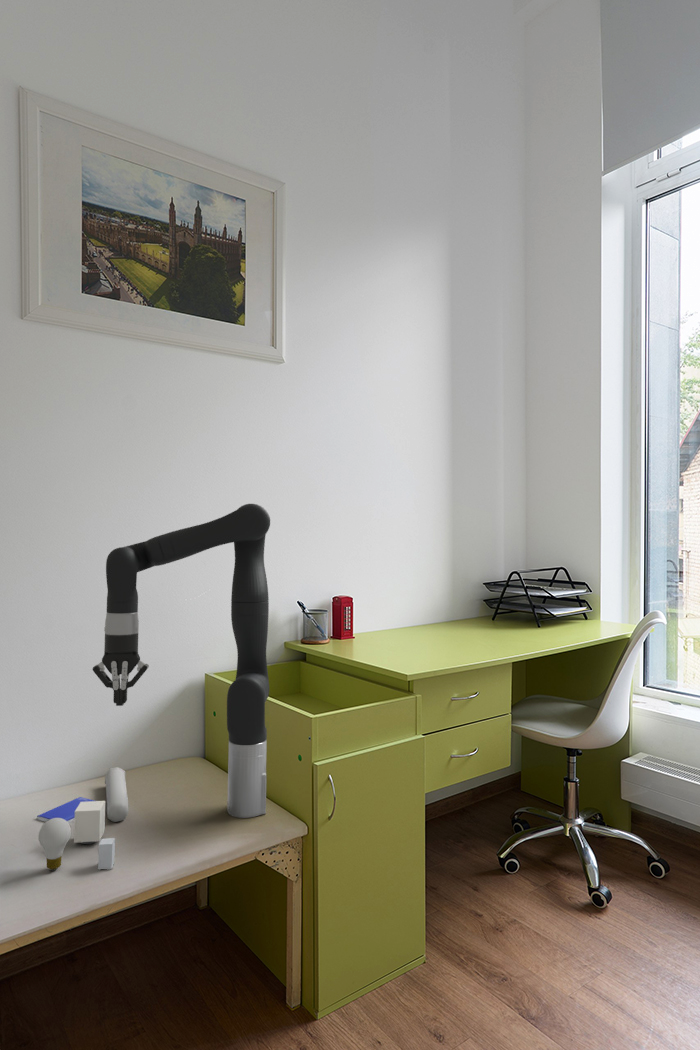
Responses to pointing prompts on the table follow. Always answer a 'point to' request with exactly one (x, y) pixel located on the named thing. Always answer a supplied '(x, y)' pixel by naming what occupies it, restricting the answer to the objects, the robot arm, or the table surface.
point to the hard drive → (63, 811)
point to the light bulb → (54, 840)
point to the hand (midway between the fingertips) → (120, 704)
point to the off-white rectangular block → (89, 821)
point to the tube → (116, 794)
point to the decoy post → (106, 853)
